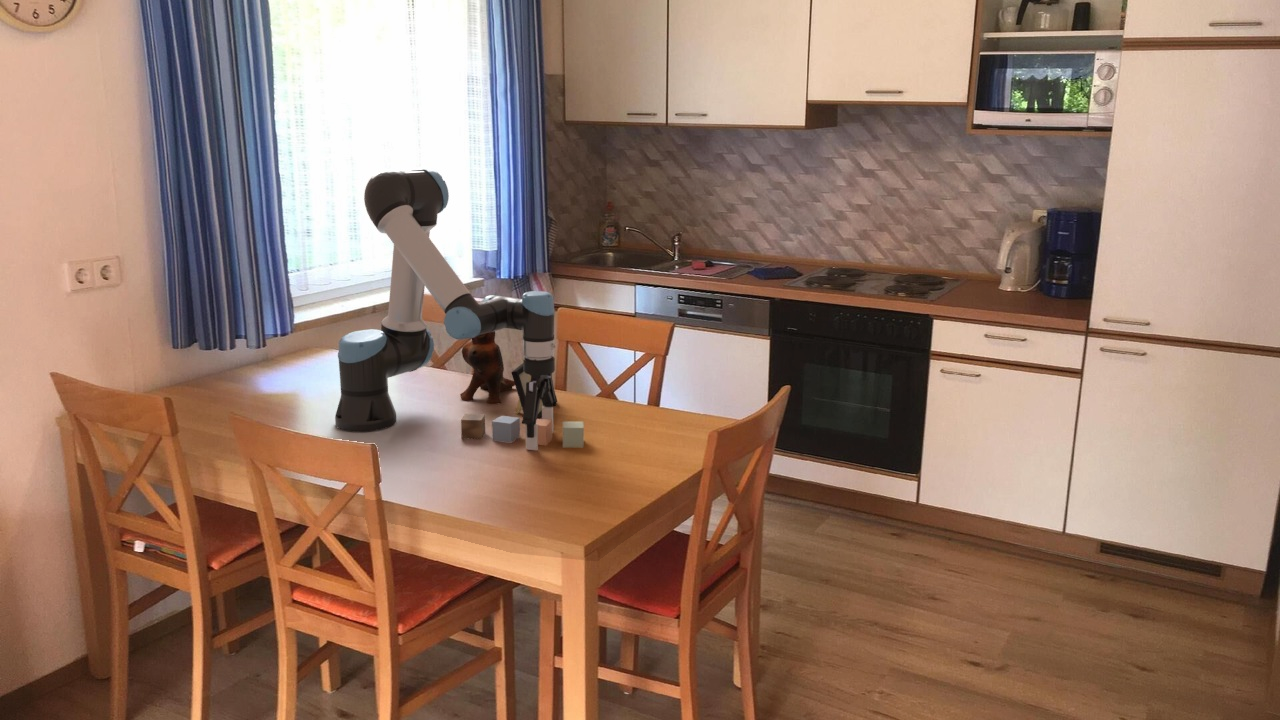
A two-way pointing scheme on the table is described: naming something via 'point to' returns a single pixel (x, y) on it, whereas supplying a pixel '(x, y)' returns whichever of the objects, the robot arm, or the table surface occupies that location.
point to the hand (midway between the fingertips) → (540, 440)
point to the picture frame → (524, 389)
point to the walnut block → (473, 426)
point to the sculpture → (485, 368)
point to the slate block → (506, 429)
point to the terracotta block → (544, 431)
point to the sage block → (573, 434)
